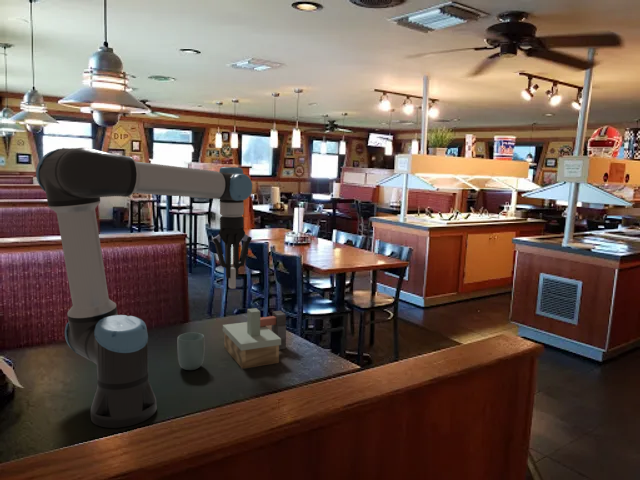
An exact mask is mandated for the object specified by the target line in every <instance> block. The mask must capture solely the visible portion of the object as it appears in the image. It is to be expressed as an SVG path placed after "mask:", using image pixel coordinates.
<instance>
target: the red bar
mask: <svg viewBox="0 0 640 480" xmlns="http://www.w3.org/2000/svg"><path fill="white" fill-rule="evenodd" d="M286 319H287V318H286V316H285V323H286V322H287V321H286ZM272 325H276V316H272V315H270V316H262V317H261V316H260V327H262V326H266V327H268V326H272Z"/></svg>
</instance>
